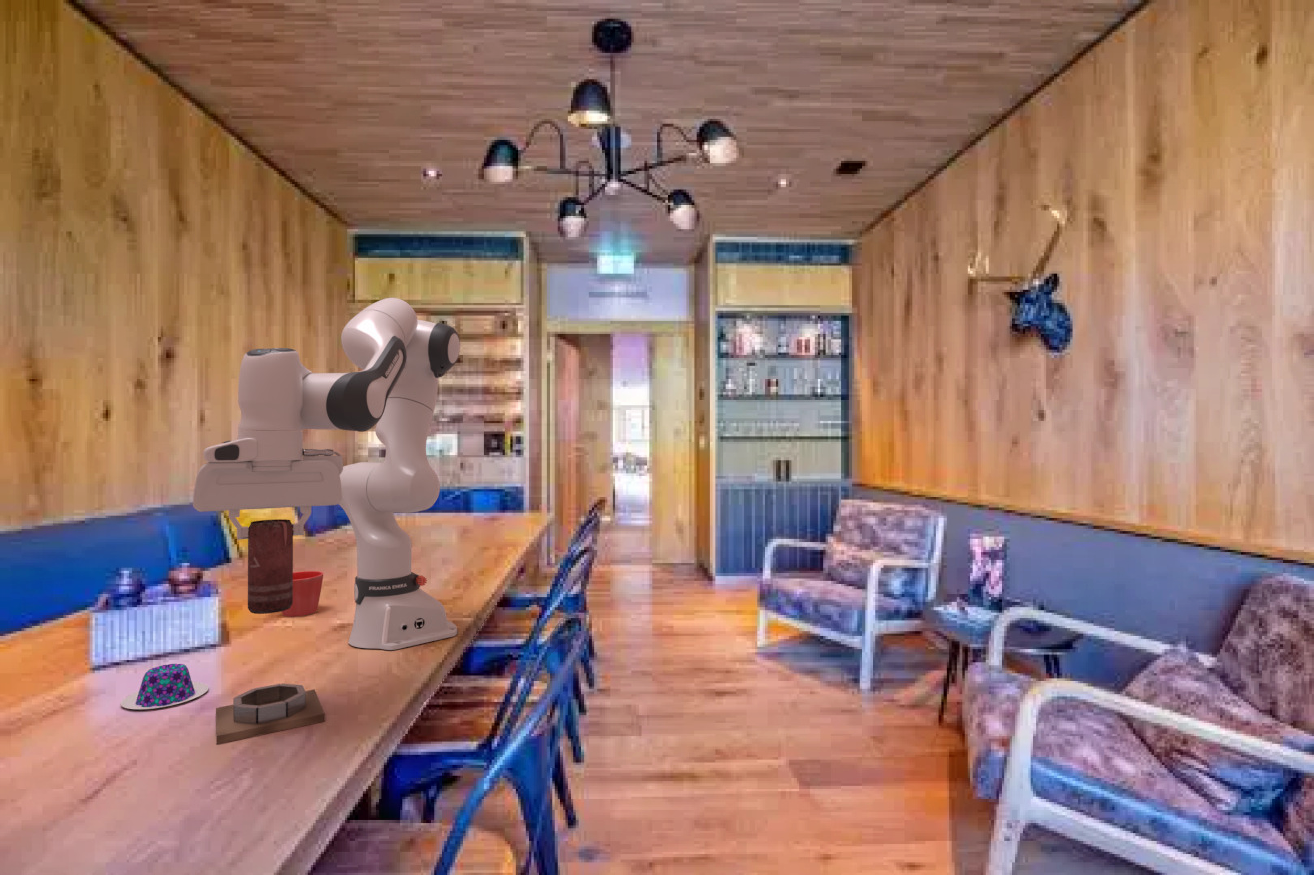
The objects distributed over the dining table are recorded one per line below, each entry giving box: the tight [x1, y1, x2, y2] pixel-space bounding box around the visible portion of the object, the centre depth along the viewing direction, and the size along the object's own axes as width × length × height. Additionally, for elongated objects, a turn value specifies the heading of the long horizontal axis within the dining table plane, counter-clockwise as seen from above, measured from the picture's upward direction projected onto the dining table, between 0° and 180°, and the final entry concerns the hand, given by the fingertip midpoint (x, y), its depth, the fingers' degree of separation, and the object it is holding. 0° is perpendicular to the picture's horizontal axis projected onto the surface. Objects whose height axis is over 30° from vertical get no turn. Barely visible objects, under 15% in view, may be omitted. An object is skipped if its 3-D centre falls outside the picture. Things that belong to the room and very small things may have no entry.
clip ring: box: [232, 683, 306, 725], centre depth 103 cm, size 10×10×2 cm
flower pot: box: [281, 570, 324, 618], centre depth 166 cm, size 11×11×10 cm
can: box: [247, 518, 294, 615], centre depth 103 cm, size 6×6×14 cm
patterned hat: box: [120, 663, 210, 710], centre depth 111 cm, size 12×12×5 cm
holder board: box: [215, 689, 326, 745], centre depth 103 cm, size 14×12×1 cm
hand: (270, 536), depth 103 cm, fingers closed on can, 6 cm apart
